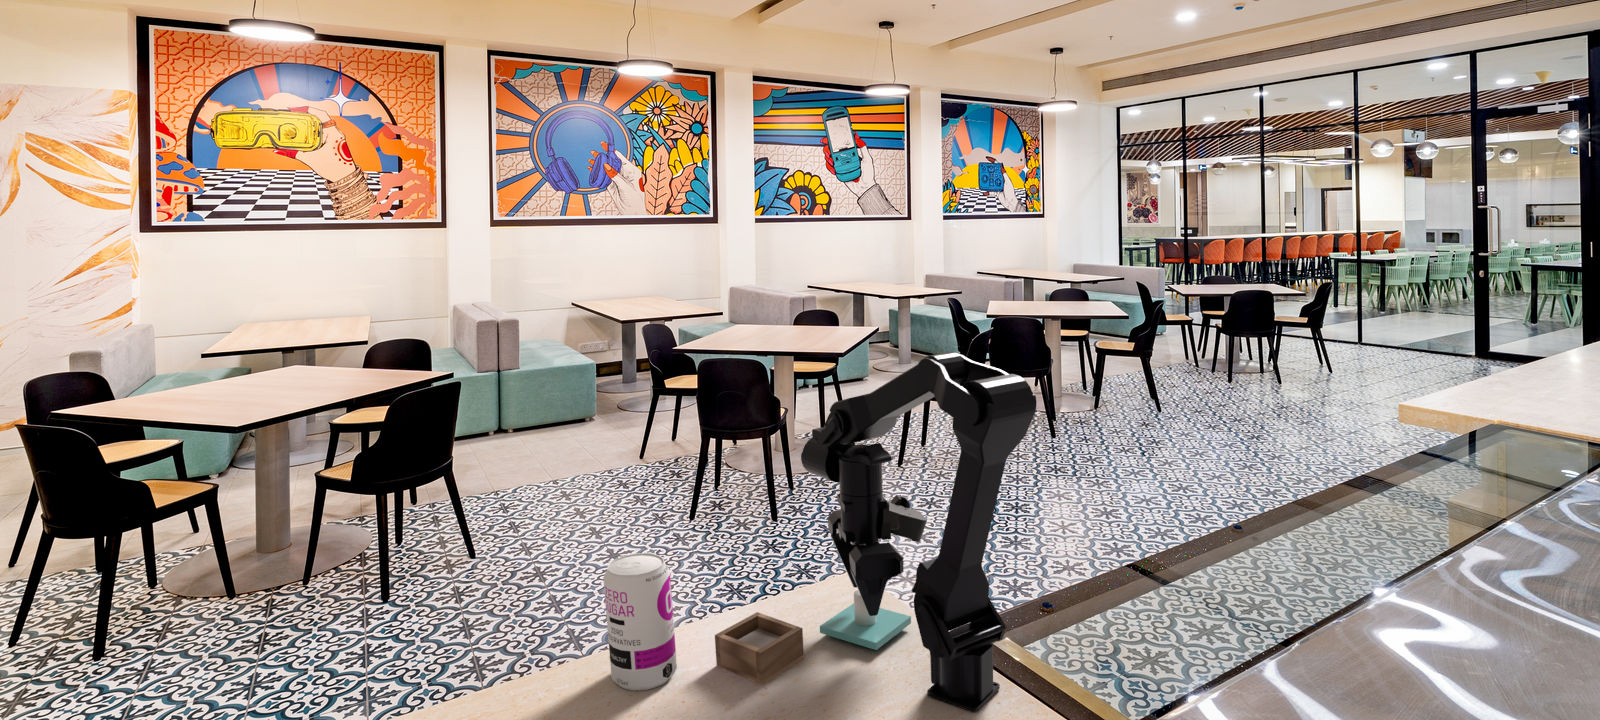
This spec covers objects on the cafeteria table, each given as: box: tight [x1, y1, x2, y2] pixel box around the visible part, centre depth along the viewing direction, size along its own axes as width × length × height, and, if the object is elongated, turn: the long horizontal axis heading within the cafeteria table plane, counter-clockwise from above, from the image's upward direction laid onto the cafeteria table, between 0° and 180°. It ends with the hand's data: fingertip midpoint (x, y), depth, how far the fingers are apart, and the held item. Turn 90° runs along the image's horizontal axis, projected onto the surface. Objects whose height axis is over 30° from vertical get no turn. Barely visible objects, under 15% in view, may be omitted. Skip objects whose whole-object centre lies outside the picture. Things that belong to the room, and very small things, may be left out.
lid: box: [819, 589, 912, 651], centre depth 117 cm, size 9×9×6 cm
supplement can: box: [603, 552, 678, 691], centre depth 108 cm, size 8×8×15 cm
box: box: [714, 611, 805, 686], centre depth 111 cm, size 8×8×4 cm
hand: (865, 600), depth 117 cm, fingers open, 9 cm apart
